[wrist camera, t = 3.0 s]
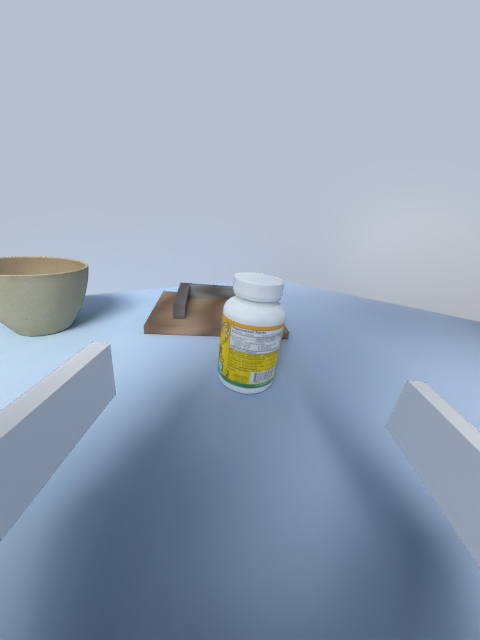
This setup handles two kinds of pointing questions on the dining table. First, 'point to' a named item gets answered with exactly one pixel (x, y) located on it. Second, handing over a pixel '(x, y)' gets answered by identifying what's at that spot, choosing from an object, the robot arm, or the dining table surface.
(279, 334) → the supplement bottle
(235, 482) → the dining table surface
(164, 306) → the u rest
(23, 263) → the beige bowl
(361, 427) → the dining table surface
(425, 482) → the robot arm
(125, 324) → the dining table surface
